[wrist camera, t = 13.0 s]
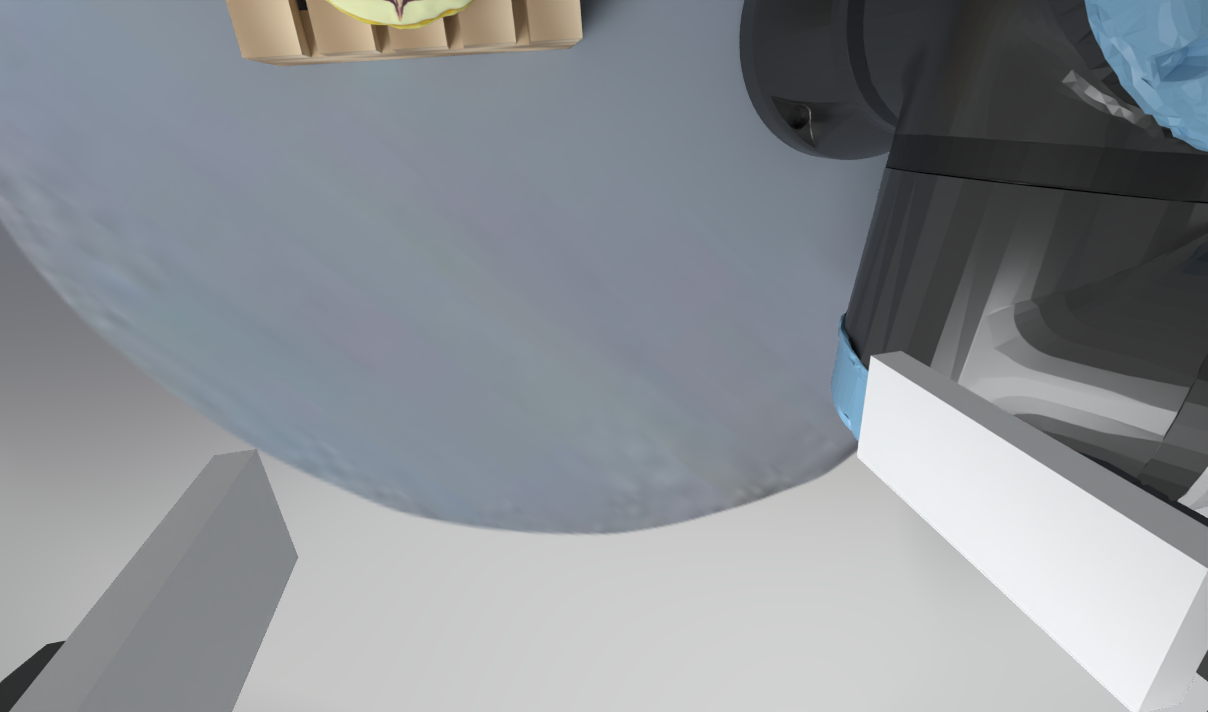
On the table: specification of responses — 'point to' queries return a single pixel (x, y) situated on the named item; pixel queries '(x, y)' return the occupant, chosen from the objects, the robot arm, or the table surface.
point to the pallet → (399, 31)
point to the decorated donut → (400, 11)
